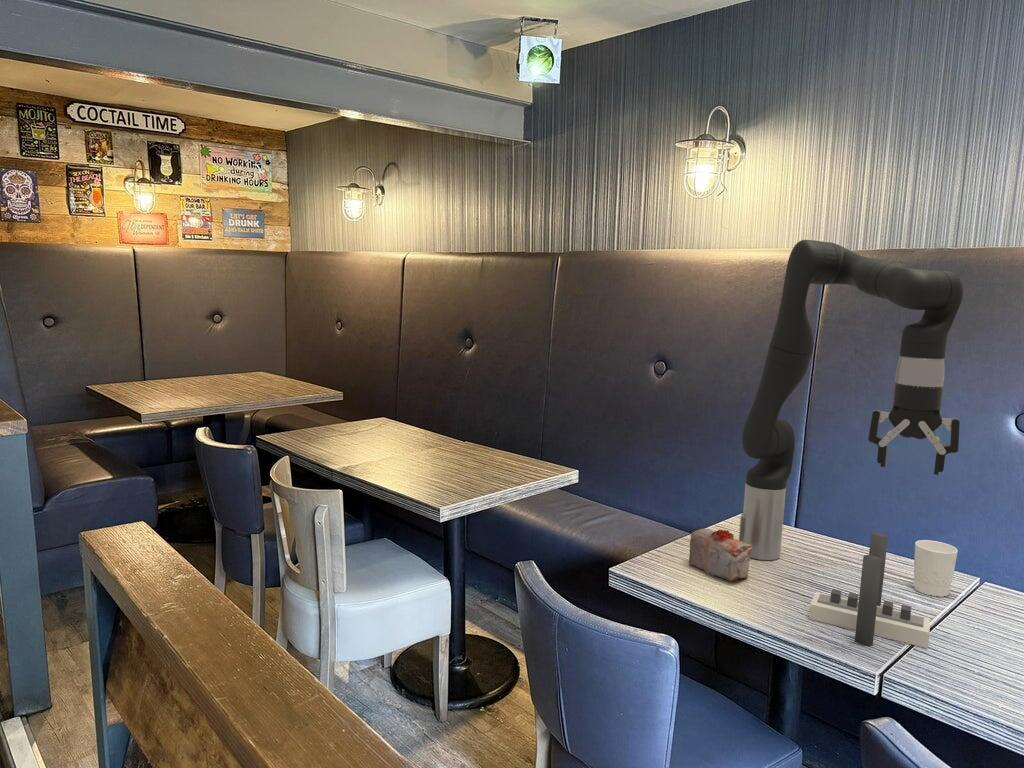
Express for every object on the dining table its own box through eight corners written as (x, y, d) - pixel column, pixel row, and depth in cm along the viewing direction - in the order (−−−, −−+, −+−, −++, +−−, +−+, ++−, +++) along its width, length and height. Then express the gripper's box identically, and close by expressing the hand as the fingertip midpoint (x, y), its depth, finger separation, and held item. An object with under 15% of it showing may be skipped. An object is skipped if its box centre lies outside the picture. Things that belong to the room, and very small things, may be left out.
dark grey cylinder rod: (862, 612, 142) (870, 535, 140) (863, 606, 144) (871, 531, 142) (879, 616, 140) (887, 538, 138) (880, 610, 143) (888, 534, 141)
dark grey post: (853, 642, 129) (862, 558, 127) (855, 636, 132) (864, 553, 130) (872, 647, 128) (881, 562, 126) (873, 640, 130) (882, 557, 128)
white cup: (910, 593, 152) (915, 548, 151) (909, 580, 159) (914, 537, 158) (953, 601, 149) (959, 555, 147) (950, 588, 155) (956, 544, 154)
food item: (755, 579, 157) (758, 536, 156) (733, 587, 152) (736, 543, 151) (705, 559, 168) (707, 519, 167) (683, 566, 163) (685, 525, 162)
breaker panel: (809, 618, 138) (811, 592, 138) (814, 605, 144) (817, 580, 143) (927, 648, 128) (930, 620, 127) (928, 633, 134) (931, 606, 133)
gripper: (873, 380, 128) (864, 468, 130) (966, 388, 121) (955, 481, 123) (876, 376, 134) (868, 460, 137) (965, 384, 127) (954, 472, 129)
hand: (909, 470), depth 130 cm, fingers open, 8 cm apart
